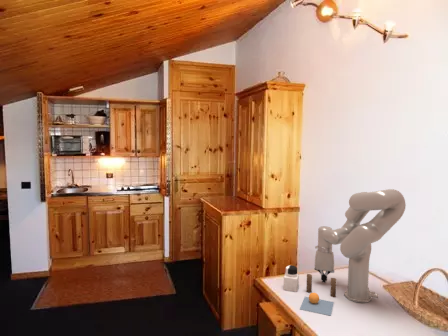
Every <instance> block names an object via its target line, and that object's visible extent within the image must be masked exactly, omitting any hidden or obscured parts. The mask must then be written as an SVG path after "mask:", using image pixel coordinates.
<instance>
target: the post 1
mask: <svg viewBox="0 0 448 336" xmlns="http://www.w3.org/2000/svg"><path fill="white" fill-rule="evenodd" d="M312 282H313V274H312V273H307V274H306V293H308V294H311V293H313V292H312V290H313V289H312V288H313V287H312V286H313V283H312Z"/></svg>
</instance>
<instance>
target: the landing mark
mask: <svg viewBox="0 0 448 336" xmlns="http://www.w3.org/2000/svg"><path fill="white" fill-rule="evenodd" d="M334 304H335V303H334V301H330V300H326V299H320V298H319V301H318V303H316V304H313V303H311V302H310V301H309V296H304V298H303V300H302V302H301V305H300V307H299V310H301V311H305V312H310V313H315V314H320V315H326V316H329V317H332V312H333V307H334Z"/></svg>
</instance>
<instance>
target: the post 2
mask: <svg viewBox="0 0 448 336" xmlns="http://www.w3.org/2000/svg"><path fill="white" fill-rule="evenodd" d="M329 295H330V297H331V298H337V278H335V277H331V278H330V294H329Z"/></svg>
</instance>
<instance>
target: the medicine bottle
mask: <svg viewBox="0 0 448 336" xmlns="http://www.w3.org/2000/svg"><path fill="white" fill-rule="evenodd" d="M299 277H300V275H299V273H298V267H297V266H295V265H287V266H286V267H285V273H284V276H283V291H287V292H294V293H295V292H296V293H297V292H298V290H299V283H300V282H299V280H300V278H299Z"/></svg>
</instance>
